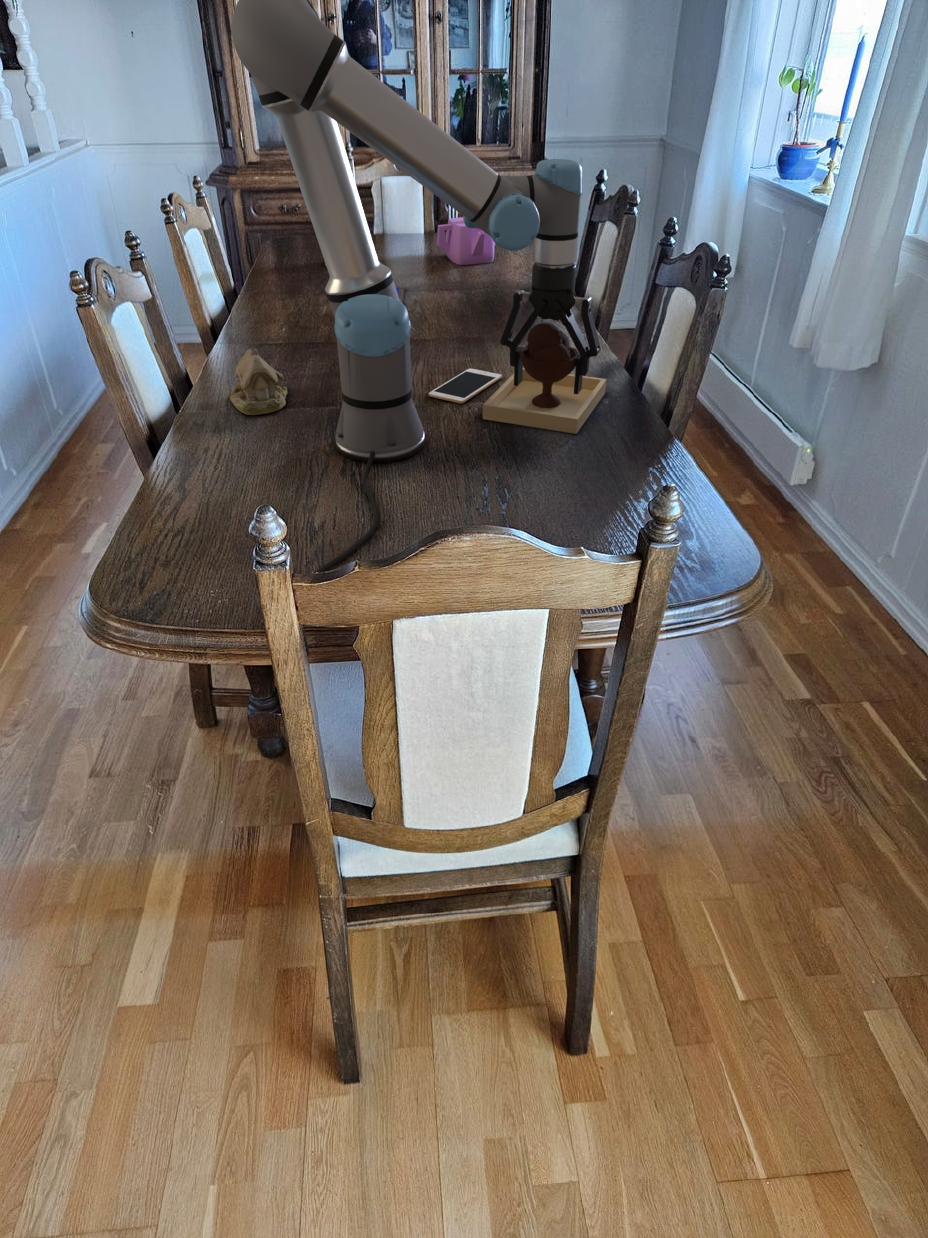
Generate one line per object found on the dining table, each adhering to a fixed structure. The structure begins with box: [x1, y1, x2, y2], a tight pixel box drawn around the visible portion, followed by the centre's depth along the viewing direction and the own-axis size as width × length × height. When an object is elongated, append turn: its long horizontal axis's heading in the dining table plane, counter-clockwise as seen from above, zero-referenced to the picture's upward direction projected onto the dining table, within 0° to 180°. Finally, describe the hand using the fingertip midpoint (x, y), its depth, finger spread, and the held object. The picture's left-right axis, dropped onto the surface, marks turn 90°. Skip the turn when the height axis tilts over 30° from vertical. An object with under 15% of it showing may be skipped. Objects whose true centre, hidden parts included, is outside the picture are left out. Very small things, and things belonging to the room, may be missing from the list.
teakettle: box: [436, 216, 497, 266], centre depth 244 cm, size 17×17×12 cm
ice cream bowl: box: [519, 322, 580, 408], centre depth 152 cm, size 11×11×15 cm
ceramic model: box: [229, 347, 288, 416], centre depth 156 cm, size 14×11×10 cm
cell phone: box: [428, 367, 503, 404], centre depth 164 cm, size 8×16×1 cm, turn 149°
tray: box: [482, 367, 608, 435], centre depth 156 cm, size 21×18×3 cm
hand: (547, 387), depth 154 cm, fingers closed on ice cream bowl, 11 cm apart
